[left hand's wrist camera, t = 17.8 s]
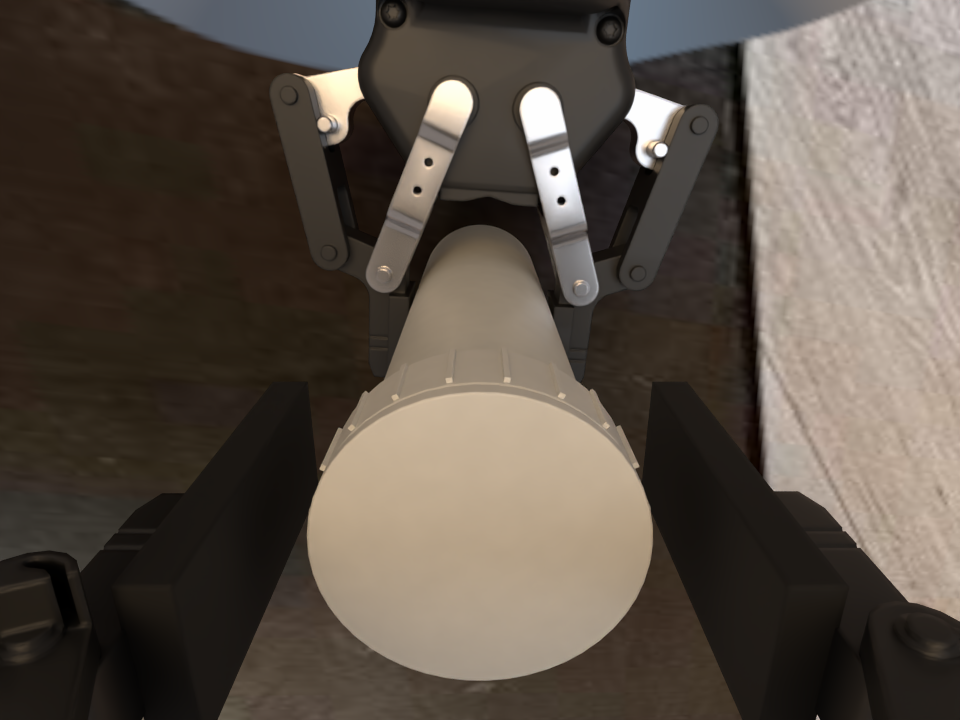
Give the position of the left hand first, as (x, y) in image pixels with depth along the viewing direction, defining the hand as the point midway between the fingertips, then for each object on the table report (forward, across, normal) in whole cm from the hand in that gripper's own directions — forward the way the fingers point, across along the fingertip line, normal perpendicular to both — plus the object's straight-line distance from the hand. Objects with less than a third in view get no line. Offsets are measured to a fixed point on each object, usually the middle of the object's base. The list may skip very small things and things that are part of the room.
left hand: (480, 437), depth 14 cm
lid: (-4, 0, 0) cm, 4 cm away
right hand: (+9, 0, -3) cm, 9 cm away
